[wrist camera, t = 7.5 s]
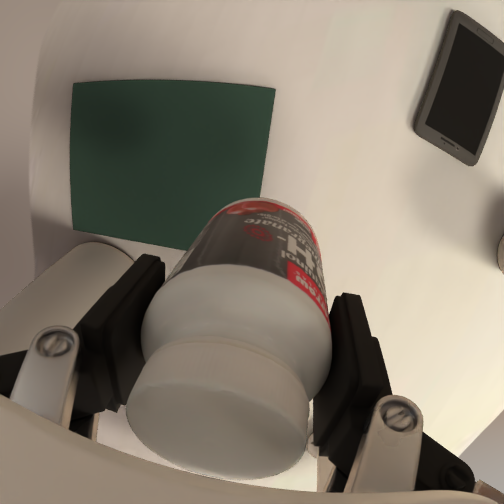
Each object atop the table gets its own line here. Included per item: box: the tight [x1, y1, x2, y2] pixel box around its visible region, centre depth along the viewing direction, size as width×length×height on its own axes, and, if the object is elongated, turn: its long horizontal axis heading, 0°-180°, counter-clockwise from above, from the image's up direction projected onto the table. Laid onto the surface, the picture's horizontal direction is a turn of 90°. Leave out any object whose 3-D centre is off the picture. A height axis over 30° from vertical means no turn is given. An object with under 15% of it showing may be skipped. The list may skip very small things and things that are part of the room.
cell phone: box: [414, 10, 504, 166], centre depth 21 cm, size 7×14×1 cm, turn 161°
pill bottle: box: [126, 198, 332, 480], centre depth 10 cm, size 5×5×10 cm
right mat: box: [70, 80, 276, 251], centre depth 28 cm, size 20×16×1 cm
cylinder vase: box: [0, 242, 134, 355], centre depth 24 cm, size 12×12×25 cm
